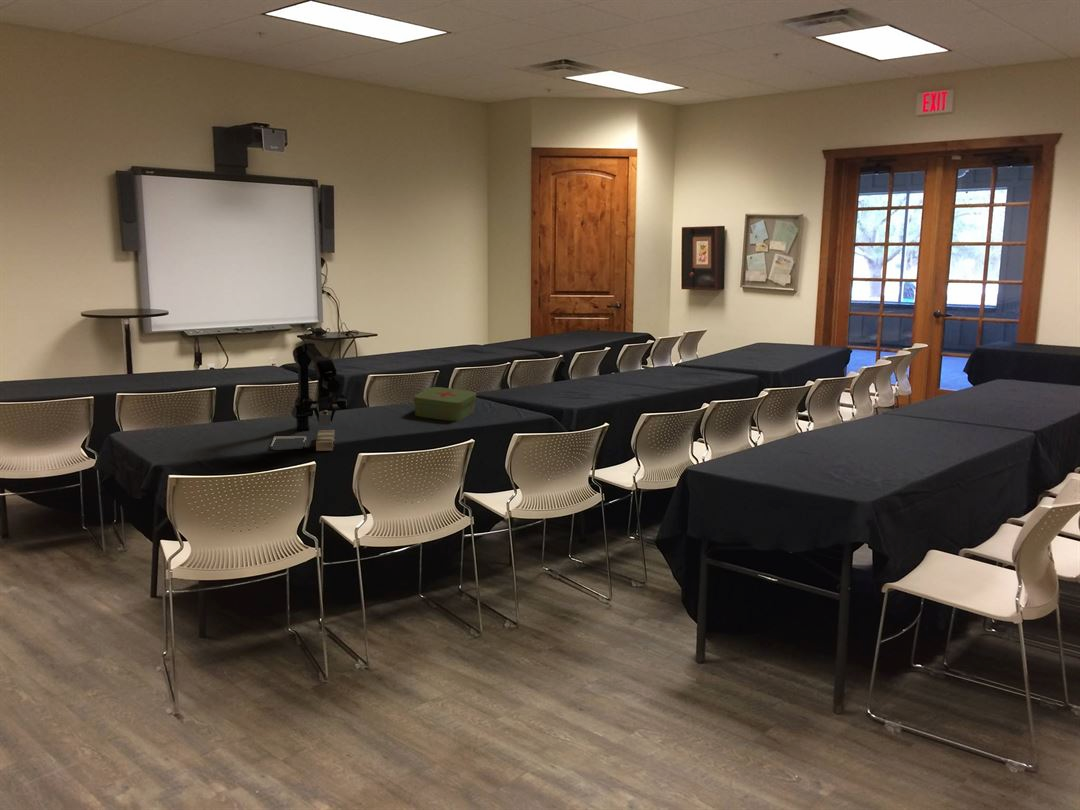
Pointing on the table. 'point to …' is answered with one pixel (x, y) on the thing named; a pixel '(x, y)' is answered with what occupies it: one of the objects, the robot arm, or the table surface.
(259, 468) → the table surface
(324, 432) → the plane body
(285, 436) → the parts tray
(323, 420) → the dark grey block
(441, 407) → the first aid kit
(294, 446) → the table surface
